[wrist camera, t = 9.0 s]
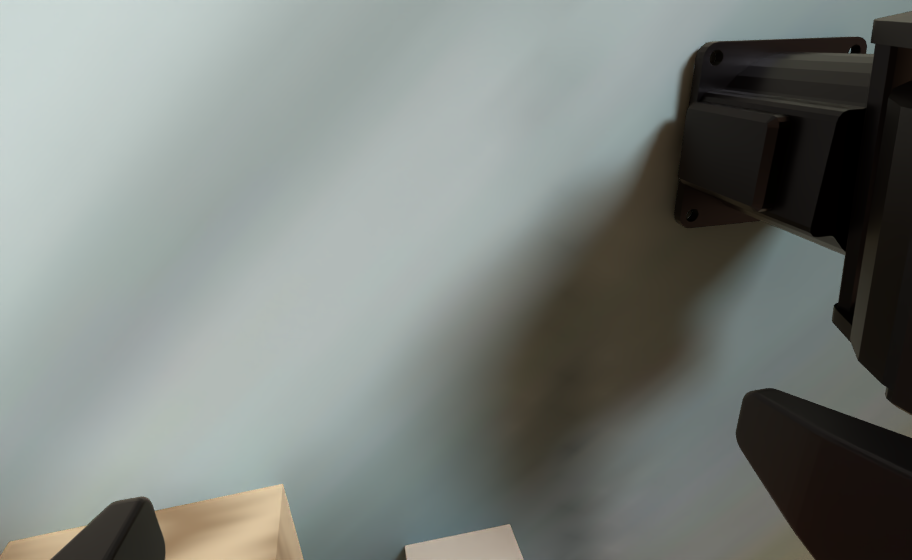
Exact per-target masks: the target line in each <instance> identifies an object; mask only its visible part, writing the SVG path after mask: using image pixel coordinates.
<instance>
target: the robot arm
mask: <svg viewBox="0 0 912 560" xmlns="http://www.w3.org/2000/svg"><path fill="white" fill-rule="evenodd" d="M871 43H874V44H875V50H874V54H866V50H867V45H866V41H865V40H864V39H863V38H861V37H830V38H801V39H772V40H744V41H715V42H708V43H706V44H704V45H703V46H702V47H701V48H700V49H699V51H698V53H697V56H696V61H695V68H694V75H693V83H692V90H691V97H690V104H689V108H688V110H687V114H686V121H685V129H684V136H683V143H682V151H681V158H680V165H679V172H678V178H679V183H678V191H677V198H676V205H675V212H674V218H675V220H676V222H677V223H679V224H680V225H682V226H684V227H686V228H696V227H705V226H715V225H724V224H734V223H744V222H753V221H763V222H766V223H768V224H771V225H773V226H775V227H778V228H780V229H783V230H785V231H788V232H790V233H792V234H795V235H797V236H800V237H802V238H804V239H807V240H809V241H812V242H814V243H816V244H819V245H821V246H824V247H826V248H828V249H831V250H833V251H836V252H838V253H841V254H843V255H845V259H844V266H843V273H842V280H841V287H840V294H839V301H838V303H836V304H835V305H834V308H833V316H832V322H833V323H834V324H835V325H836V327H837V328H838V329H839V330H840V331H841V332H842V333H843V334H844V335H845V337H846V338H847V339H848V340H849V341H850V342H851V344H852V346H853V349H854V352H855V354H856V357H857V359H858V361H859V362H860V363H861V364H862V365H863V366H864V367H865V368H866V369H867V370H868V371H869V372H870V373H871V374H872V375H873V376H874V377H875V378H876V379H877V380H878V381H879V382H881V383H882V384H883V385H884V386H886V392H885V395H886V398H887V399H888V400H889V401H890V402H891V403H892V404H894V405H895V406H896V407H898V408H899V409H901V410H903V411H905V412H907V413H908V414H910V415H912V11H910V12H905V13H900V14H896V15H891V16H887V17H882V18H878V19H874V23H873V30H872V37H871ZM850 48H851V53H850V54H849V53H848V52H849V50H850ZM713 51H714V52H715V54H716V58H715V61H714V62H713V63H712V64H711V63H710V56H711V54H712V52H713ZM691 209H692V214H691V216H690V217H689V218H686V215H687V213H688V212H689V211H690V210H691ZM736 439H737V442H738V445H739V447H740V449H741V450H742V452H743V454H744V455H745V457H746V458H747V460H748V461H749V463H750V464H751V466H752V468H753V469H754V471H755V472H756V474H757V475H758V477H759V479H760V480H761V482H762V483H763V485H764V486H765V488H766V489H767V491H768V493H769V494H770V496H771V497H772V499H773V500H774V502H775V504H776V505H777V507H778V508H779V510H780V511H781V513H782V514H783V516H784V518H785V519H786V521H787V522H788V523H789V525H790V526H791V528H792V529H793V531H794V532H795V534H796V535H797V536H798V538H799V539H800V540H801V542H802V543H803V545H804V546H805V547H806V549H807V550H808V551H809V552H810V554H811V555H812V556H813V558H814V559H815V560H912V438H910V437H907V436H904V435H901V434H899V433H896V432H893V431H890V430H888V429H885V428H882V427H879V426H877V425H874V424H871V423H868V422H865V421H863V420H860V419H857V418H854V417H852V416H849V415H846V414H843V413H840V412H838V411H835V410H832V409H829V408H827V407H824V406H821V405H818V404H815V403H813V402H810V401H807V400H804V399H802V398H799V397H796V396H793V395H790V394H788V393H785V392H782V391H779V390H777V389H773V388H766V389H760V390H754V391H750V392H748V393H746V395H745V396H744V398H743V401H742V405H741V410H740V414H739V419H738V424H737V428H736ZM165 553H166V549H165V540H164V537H163V534H162V531H161V528H160V525H159V523H158V520H157V517H156V514H155V511H154V508H153V505H152V503H151V501H150V500H149V499H148V498H146V497H136V498H130V499H124V500H119V501H116V502H113V503H111V504H110V505H109V506H107V507H106V508H105V509H104V510H103V511H102V512H101V513H100V514H99V515H98V516H97V517H95V518H94V519H93V520H92V521H91V522H90V523H89V524H88V525H87V526H86V527H85V528H84V529H83V530H81V531H80V532H79V533H78V534H77V535H76V536H75V537H74V538H73V539H72V540H71V541H70V542H69V543H67V544H66V545H65V546H64V547H63V548H62V549H61V550H60V551H59V552H58V553H57V554H56V555H54V556H53V557H52V558H51V559H50V560H165Z"/></svg>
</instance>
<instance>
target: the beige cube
mask: <svg viewBox="0 0 912 560" xmlns="http://www.w3.org/2000/svg"><path fill="white" fill-rule="evenodd" d="M405 553H406V560H523V557H522V554H521V552H520V549H519V547H518V544H517V541H516V539H515V536H514V534H513V531H512V528H511V526H510V524H508V525H503V526H498V527H493V528H488V529H484V530H479V531H474V532H469V533H464V534H459V535H454V536H450V537H445V538H440V539H435V540H430V541H425V542H420V543H416V544H411V545H406V546H405Z"/></svg>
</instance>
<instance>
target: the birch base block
mask: <svg viewBox="0 0 912 560" xmlns="http://www.w3.org/2000/svg"><path fill="white" fill-rule="evenodd" d="M155 514H156V517H157V520H158V523H159V525H160V528H161V531H162V534H163V537H164V540H165V549H166V553H165V560H304V559H303V556H302V552H301V548H300V545H299V541H298V537H297V534H296V530H295V526H294V523H293V519H292V515H291V512H290V508H289V504H288V501H287V497H286V493H285V490H284V486H283V484H280V485H275V486H270V487H265V488H261V489H256V490H251V491H247V492H242V493H237V494H232V495H228V496H223V497H218V498H214V499H209V500H204V501H199V502H195V503H190V504H185V505H180V506H176V507H171V508H166V509H162V510H157V511H155ZM86 526H87V525H86ZM86 526H81V527H77V528H72V529H67V530H63V531H58V532H53V533H48V534H44V535H39V536H34V537H30V538H25V539H20V540H15V541H11V542H9V543H8V545H7V546H6V548H5V549H4V551H3V553H2V554H1V556H0V560H50V559H51V558H52V557H53V556H54V555H56V554H57V553H58V552H59V551H60V550H61V549H62V548H63V547H64V546H65V545H66V544H67V543H69V542H70V541H71V540H72V539H73V538H74V537H75V536H76V535H77V534H78V533H79V532H80V531H81V530H83V529H84V528H85V527H86Z"/></svg>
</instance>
